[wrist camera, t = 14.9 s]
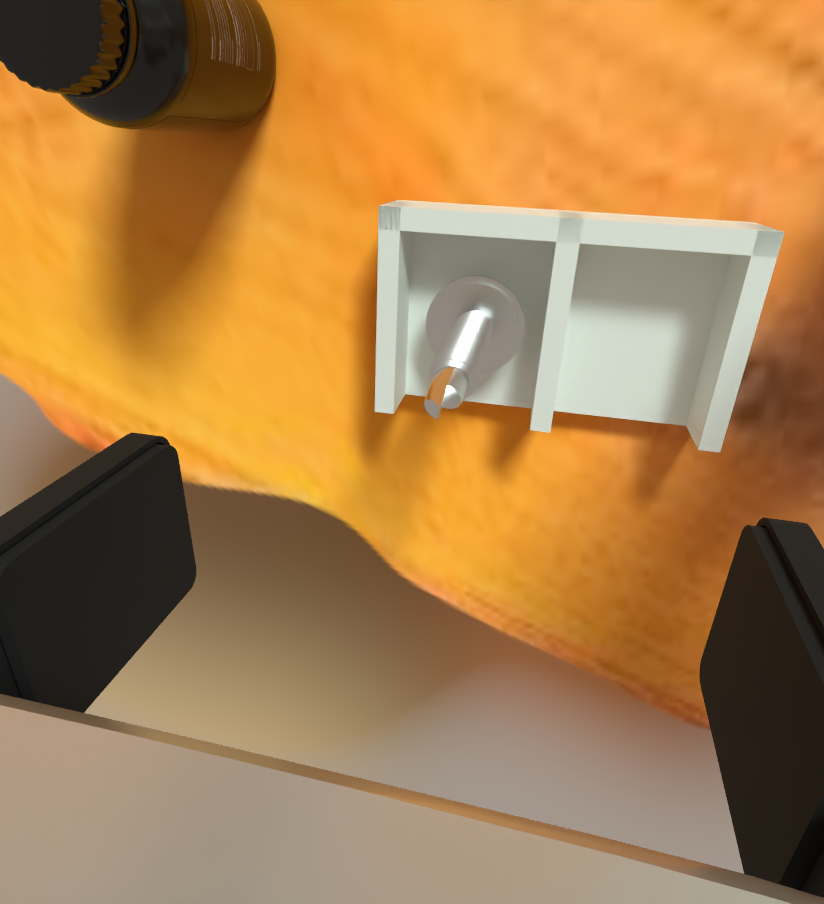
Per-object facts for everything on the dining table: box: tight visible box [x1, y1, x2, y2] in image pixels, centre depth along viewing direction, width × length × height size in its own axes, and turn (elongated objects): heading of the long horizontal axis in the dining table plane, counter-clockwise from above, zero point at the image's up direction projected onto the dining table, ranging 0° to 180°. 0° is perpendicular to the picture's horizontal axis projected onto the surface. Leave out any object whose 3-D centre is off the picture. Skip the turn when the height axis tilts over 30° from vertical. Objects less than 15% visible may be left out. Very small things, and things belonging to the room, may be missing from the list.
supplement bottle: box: [0, 0, 276, 132], centre depth 25 cm, size 7×7×12 cm
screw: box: [424, 275, 525, 419], centre depth 26 cm, size 13×5×5 cm
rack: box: [375, 200, 784, 452], centre depth 31 cm, size 17×10×4 cm, turn 86°
